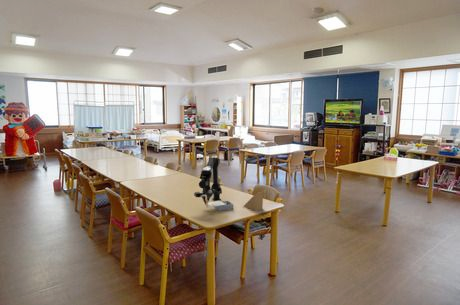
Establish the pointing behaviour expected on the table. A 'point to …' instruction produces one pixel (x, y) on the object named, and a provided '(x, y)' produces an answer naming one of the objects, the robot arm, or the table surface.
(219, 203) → the lid
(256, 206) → the sandwich container
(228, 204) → the tub
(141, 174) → the table surface
